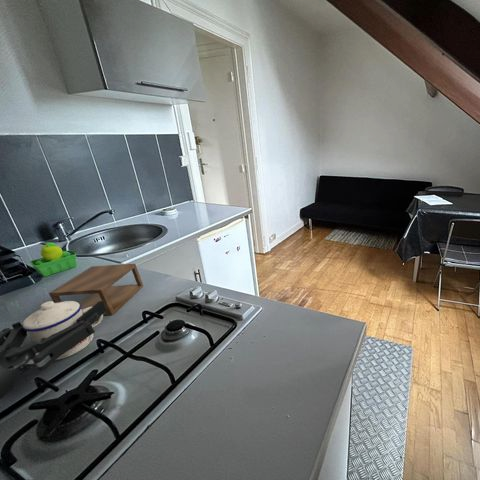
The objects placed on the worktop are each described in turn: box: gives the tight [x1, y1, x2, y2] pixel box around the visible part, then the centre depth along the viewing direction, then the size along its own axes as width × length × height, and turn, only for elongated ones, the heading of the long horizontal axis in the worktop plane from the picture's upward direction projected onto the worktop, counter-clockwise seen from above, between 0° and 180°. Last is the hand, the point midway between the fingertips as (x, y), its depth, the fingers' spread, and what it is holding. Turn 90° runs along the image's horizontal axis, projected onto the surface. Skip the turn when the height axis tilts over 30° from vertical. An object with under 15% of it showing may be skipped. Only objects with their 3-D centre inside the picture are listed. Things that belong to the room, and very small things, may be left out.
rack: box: [48, 263, 144, 317], centre depth 73 cm, size 13×14×8 cm
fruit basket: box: [29, 242, 77, 278], centre depth 93 cm, size 11×9×11 cm
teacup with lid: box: [22, 300, 104, 361], centre depth 57 cm, size 12×9×12 cm
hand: (79, 307), depth 61 cm, fingers closed on teacup with lid, 10 cm apart
